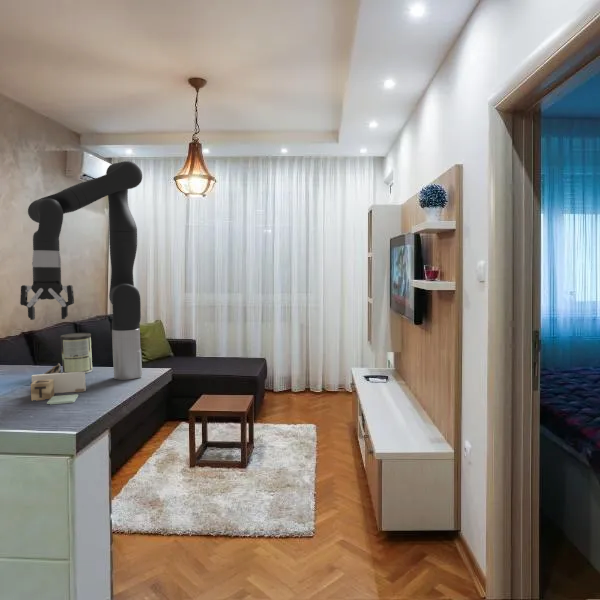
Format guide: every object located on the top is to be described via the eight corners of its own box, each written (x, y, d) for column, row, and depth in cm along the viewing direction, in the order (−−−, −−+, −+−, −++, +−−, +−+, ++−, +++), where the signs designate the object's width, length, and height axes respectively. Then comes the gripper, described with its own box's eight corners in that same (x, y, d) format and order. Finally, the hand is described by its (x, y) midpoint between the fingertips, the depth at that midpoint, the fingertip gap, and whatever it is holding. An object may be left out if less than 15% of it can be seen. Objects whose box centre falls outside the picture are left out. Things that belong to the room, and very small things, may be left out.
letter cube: (54, 395, 144) (53, 379, 144) (50, 399, 140) (49, 383, 139) (36, 396, 143) (35, 380, 143) (31, 401, 138) (30, 384, 138)
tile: (78, 396, 143) (78, 394, 143) (73, 402, 136) (73, 400, 136) (52, 398, 141) (52, 396, 141) (47, 404, 134) (46, 402, 134)
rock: (61, 386, 149) (70, 362, 156) (37, 379, 146) (47, 355, 153) (53, 401, 153) (61, 377, 161) (29, 395, 150) (39, 370, 157)
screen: (86, 389, 151) (85, 370, 150) (84, 391, 148) (83, 373, 147) (34, 393, 147) (33, 374, 146) (31, 395, 144) (30, 376, 143)
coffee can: (57, 372, 175) (55, 335, 174) (83, 367, 183) (81, 332, 182) (71, 376, 169) (69, 337, 168) (98, 370, 177) (96, 334, 176)
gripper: (75, 266, 147) (76, 317, 148) (24, 265, 143) (25, 318, 144) (69, 266, 140) (71, 320, 141) (16, 265, 136) (17, 321, 137)
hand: (48, 319), depth 143 cm, fingers open, 8 cm apart
